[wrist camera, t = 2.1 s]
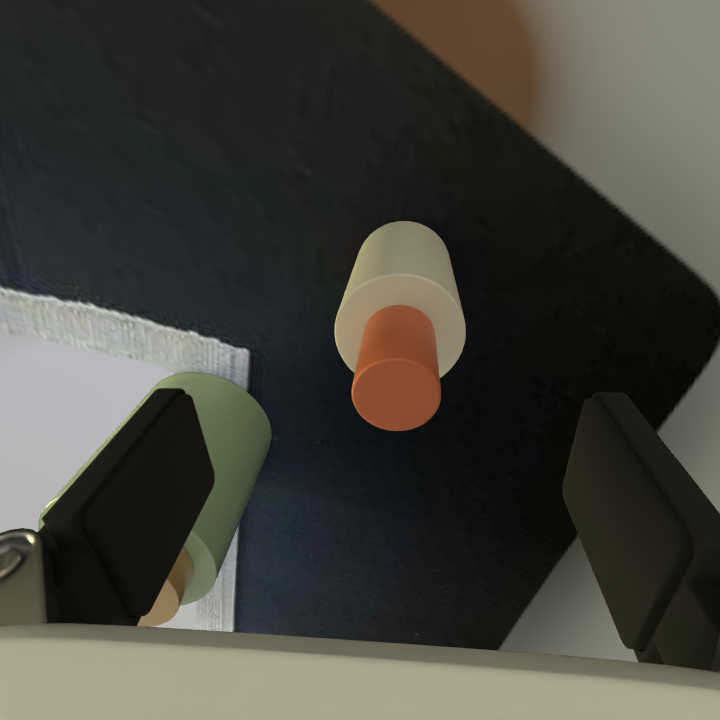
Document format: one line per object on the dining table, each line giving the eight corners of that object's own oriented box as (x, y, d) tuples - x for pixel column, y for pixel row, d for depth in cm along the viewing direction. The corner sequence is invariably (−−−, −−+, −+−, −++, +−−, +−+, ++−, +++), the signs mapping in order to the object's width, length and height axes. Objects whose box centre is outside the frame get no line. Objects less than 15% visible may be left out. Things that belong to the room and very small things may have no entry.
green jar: (128, 370, 25) (-26, 518, 16) (260, 372, 24) (173, 529, 16) (166, 470, 29) (58, 632, 20) (280, 475, 29) (220, 646, 20)
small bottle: (354, 221, 20) (305, 323, 11) (452, 219, 19) (489, 323, 10) (359, 310, 22) (322, 456, 13) (447, 310, 21) (473, 461, 12)
